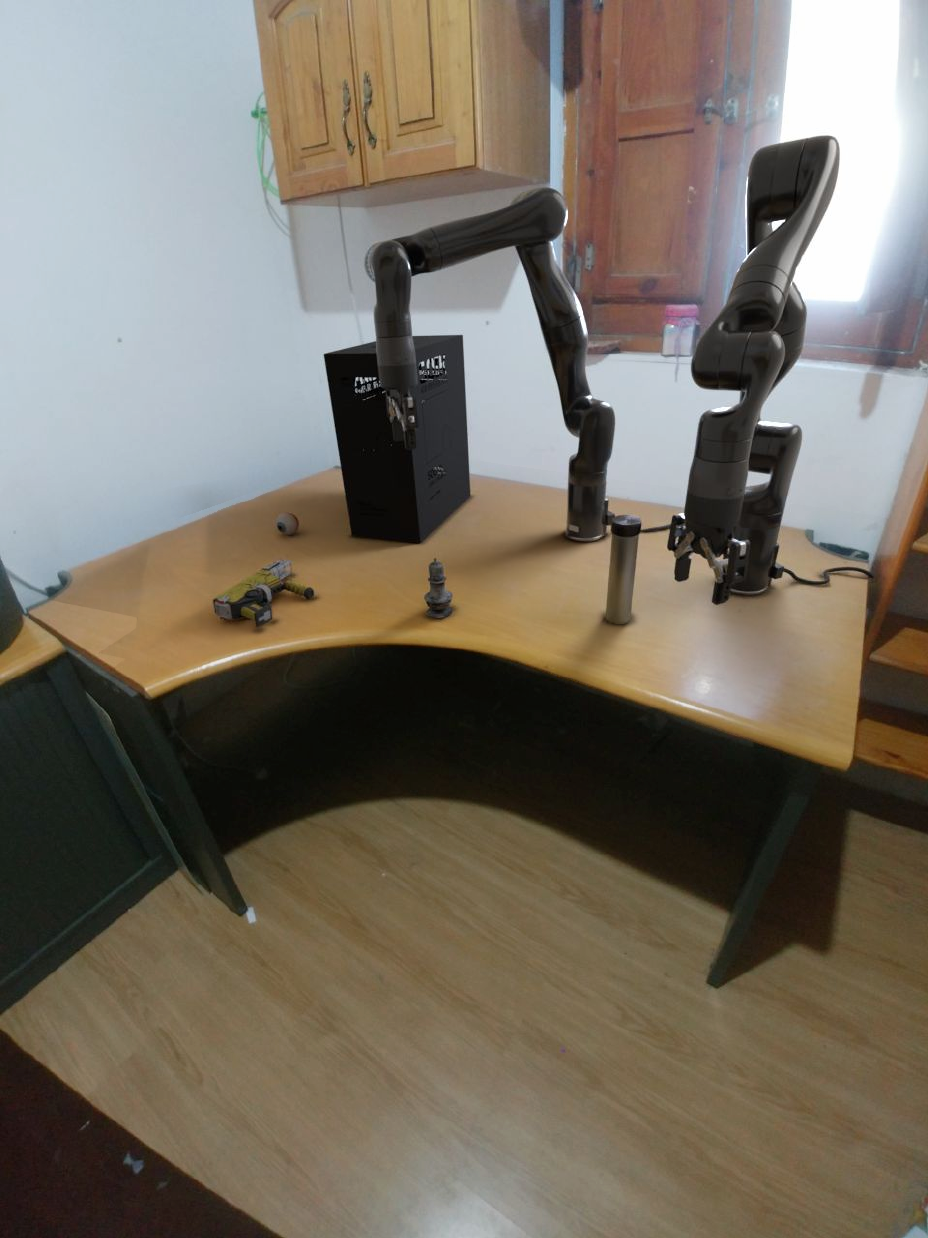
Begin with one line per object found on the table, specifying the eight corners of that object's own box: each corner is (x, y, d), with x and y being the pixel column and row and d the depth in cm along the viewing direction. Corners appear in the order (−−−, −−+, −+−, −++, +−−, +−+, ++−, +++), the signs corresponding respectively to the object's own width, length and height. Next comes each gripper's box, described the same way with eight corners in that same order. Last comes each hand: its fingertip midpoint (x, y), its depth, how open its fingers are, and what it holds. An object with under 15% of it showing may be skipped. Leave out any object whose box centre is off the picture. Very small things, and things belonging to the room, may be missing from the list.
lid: (613, 525, 111) (614, 513, 110) (642, 527, 110) (643, 515, 109) (608, 535, 107) (609, 523, 106) (638, 538, 106) (639, 526, 104)
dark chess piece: (450, 619, 120) (446, 564, 114) (422, 617, 121) (416, 563, 115) (456, 605, 125) (453, 552, 119) (429, 603, 126) (424, 551, 120)
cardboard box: (410, 491, 192) (395, 336, 169) (470, 495, 185) (462, 334, 162) (351, 535, 161) (323, 353, 139) (420, 542, 155) (402, 352, 132)
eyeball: (273, 537, 164) (268, 516, 161) (287, 528, 169) (282, 508, 166) (291, 539, 161) (286, 518, 158) (305, 530, 166) (301, 510, 163)
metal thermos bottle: (607, 610, 120) (615, 516, 110) (632, 613, 119) (641, 518, 109) (603, 622, 116) (610, 525, 106) (628, 625, 115) (638, 528, 105)
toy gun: (334, 567, 137) (277, 555, 141) (271, 613, 117) (207, 598, 121) (335, 586, 139) (279, 574, 143) (273, 634, 119) (211, 619, 123)
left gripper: (426, 362, 113) (433, 449, 121) (404, 355, 125) (411, 435, 133) (387, 367, 111) (397, 455, 119) (369, 359, 123) (378, 440, 131)
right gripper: (776, 498, 79) (753, 606, 87) (703, 471, 91) (688, 568, 99) (730, 507, 77) (711, 617, 85) (661, 478, 89) (650, 577, 97)
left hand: (404, 444), depth 126 cm, fingers open, 8 cm apart
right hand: (699, 591), depth 92 cm, fingers open, 8 cm apart
